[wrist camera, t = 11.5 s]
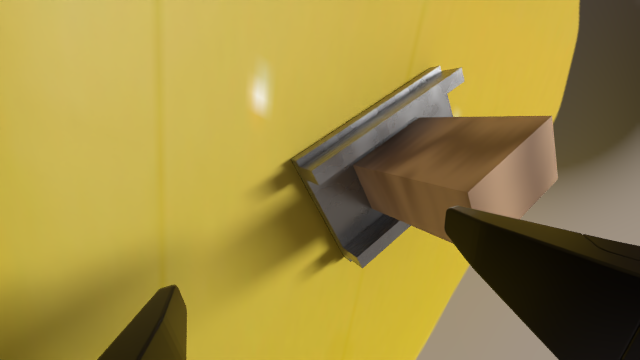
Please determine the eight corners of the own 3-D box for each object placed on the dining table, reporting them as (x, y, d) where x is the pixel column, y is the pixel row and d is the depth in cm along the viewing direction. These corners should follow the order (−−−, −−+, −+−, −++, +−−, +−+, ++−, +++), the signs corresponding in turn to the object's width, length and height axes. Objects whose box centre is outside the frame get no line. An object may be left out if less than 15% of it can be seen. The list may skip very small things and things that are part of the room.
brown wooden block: (371, 208, 24) (484, 256, 16) (352, 165, 23) (467, 192, 14) (432, 160, 27) (557, 178, 18) (419, 117, 25) (551, 116, 16)
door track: (344, 256, 25) (364, 272, 23) (290, 159, 21) (308, 164, 19) (456, 162, 30) (483, 166, 28) (430, 67, 26) (460, 61, 23)
